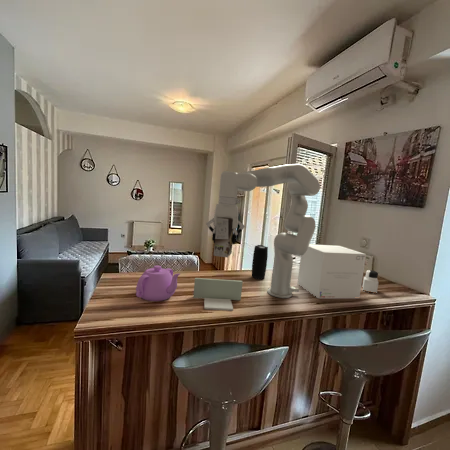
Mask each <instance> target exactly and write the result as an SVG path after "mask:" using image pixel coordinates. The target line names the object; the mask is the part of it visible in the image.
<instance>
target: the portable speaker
mask: <svg viewBox="0 0 450 450" xmlns="http://www.w3.org/2000/svg"><path fill="white" fill-rule="evenodd" d="M268 250H269V246H265V245H264V244H263V245H262V244H257V245H254V248H253V256H252V262H251V263H252V264H251V277H252V278H254V279H255V280H260V281H261V280H262V279H265V277H266V272H267V266H268V264H267V263H268V257H269V256H268V252H269V251H268Z"/></svg>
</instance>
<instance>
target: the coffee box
mask: <svg viewBox="0 0 450 450" xmlns="http://www.w3.org/2000/svg"><path fill="white" fill-rule="evenodd" d="M232 226H233V218H219V217H218V218H217V223H216V235H215V243H214V250H213V256H215V257H223V258H229V257H230V256H231V254H233V245H234V244H233V243H232V240H233V234H234V231H233V229H232Z"/></svg>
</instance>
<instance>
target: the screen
mask: <svg viewBox="0 0 450 450" xmlns="http://www.w3.org/2000/svg"><path fill="white" fill-rule="evenodd" d="M243 282H244V281H243V280H235V279H217V278H205V277H204V278H203V277H202V278H201V277H195V278H194V284H193V285H194V286H193V294H192V296H193V297H192V298H194V299H204V298H215V299H231V301H241V300H242V292H243V291H242V290H243Z"/></svg>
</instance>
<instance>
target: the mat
mask: <svg viewBox="0 0 450 450" xmlns="http://www.w3.org/2000/svg"><path fill="white" fill-rule="evenodd" d="M203 303H204V304H203V306H204V310H214V311H215V310H216V311H234V306H233V303H232V300H231V299H215V298H203Z"/></svg>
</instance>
